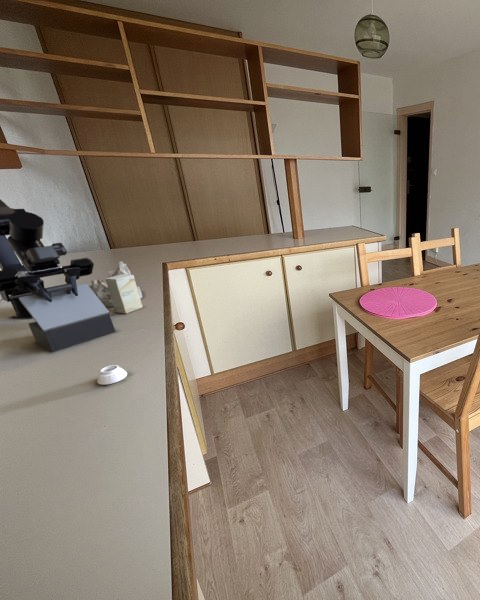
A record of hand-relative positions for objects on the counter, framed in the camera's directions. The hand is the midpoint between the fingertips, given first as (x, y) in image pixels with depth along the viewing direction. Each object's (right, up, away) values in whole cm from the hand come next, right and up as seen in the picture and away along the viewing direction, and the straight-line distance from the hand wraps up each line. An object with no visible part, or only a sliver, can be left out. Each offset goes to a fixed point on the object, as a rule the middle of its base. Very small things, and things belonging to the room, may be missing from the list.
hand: (64, 298), depth 85 cm
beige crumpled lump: (-15, 0, +32) cm, 36 cm away
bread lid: (-1, -2, +1) cm, 3 cm away
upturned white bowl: (+25, -19, -13) cm, 34 cm away
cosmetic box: (-3, -4, +24) cm, 24 cm away
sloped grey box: (-2, -11, +5) cm, 12 cm away
